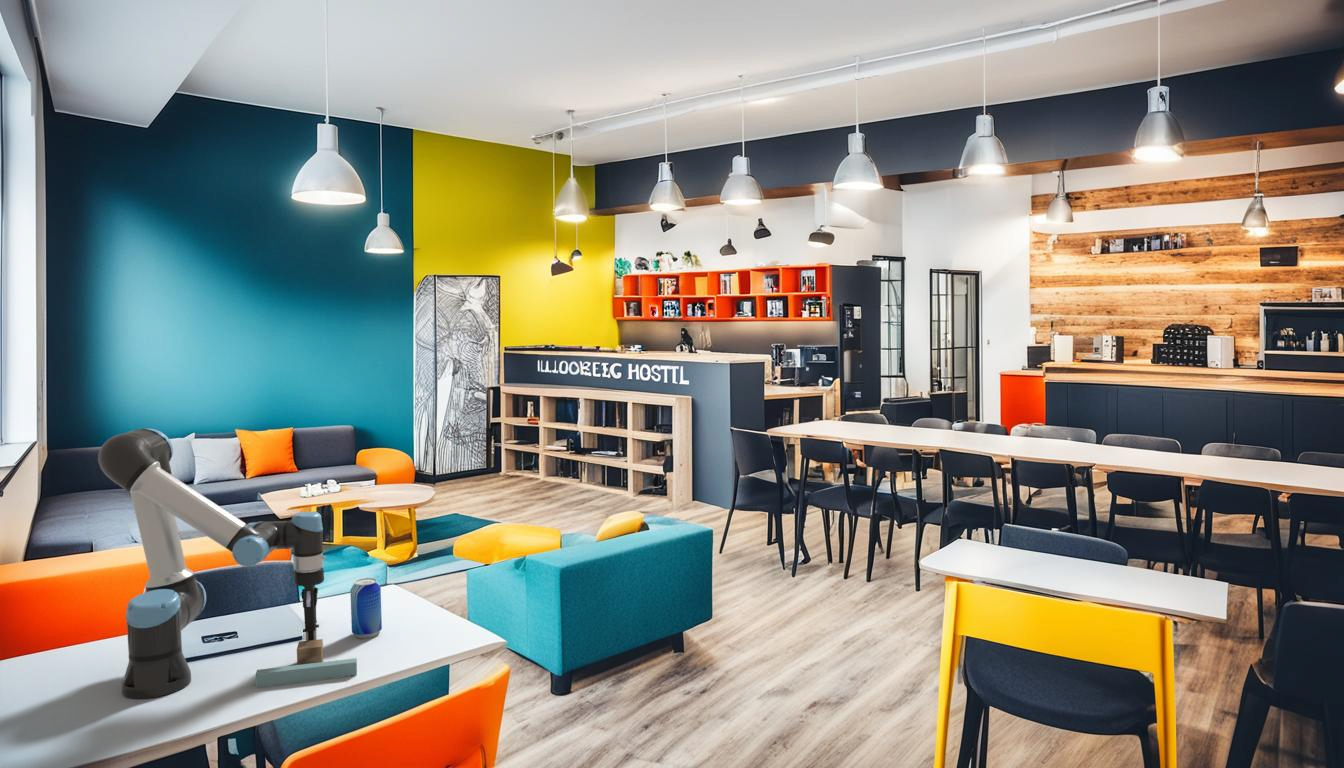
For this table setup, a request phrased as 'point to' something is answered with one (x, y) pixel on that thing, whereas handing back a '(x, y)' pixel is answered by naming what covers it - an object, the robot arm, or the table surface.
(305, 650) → the block
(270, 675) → the board
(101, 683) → the table surface
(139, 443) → the robot arm
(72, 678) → the table surface
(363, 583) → the beer can
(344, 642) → the table surface
